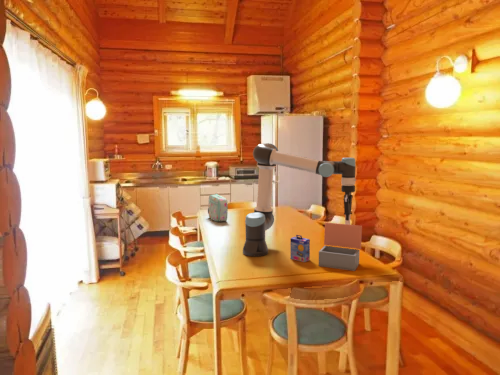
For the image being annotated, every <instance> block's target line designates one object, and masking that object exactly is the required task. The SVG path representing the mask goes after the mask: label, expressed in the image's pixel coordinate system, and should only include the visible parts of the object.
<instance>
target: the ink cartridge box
mask: <svg viewBox="0 0 500 375" xmlns="http://www.w3.org/2000/svg"><path fill="white" fill-rule="evenodd" d="M295 235H296V236H292V237H291V238H289V239H290V260H293V261H298V262H302V263H306V262H308V261H310V260H311V259H310V258H311V256H310V254H311V252H310V245H311V244H310V241H311V240H310V238H306V237H305V238H304V237H303V236H302V235H300V234H295Z"/></svg>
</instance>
